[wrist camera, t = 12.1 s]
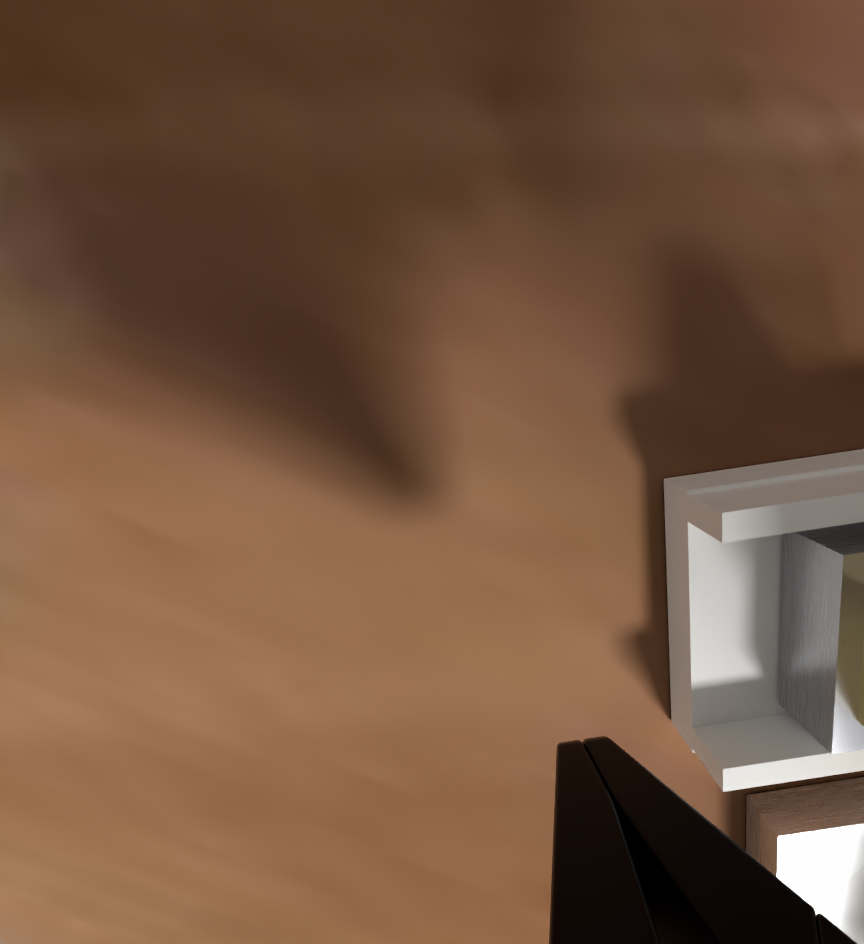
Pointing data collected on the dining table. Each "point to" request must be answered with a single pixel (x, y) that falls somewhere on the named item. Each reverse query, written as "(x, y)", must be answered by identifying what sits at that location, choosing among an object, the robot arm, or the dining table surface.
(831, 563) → the lever
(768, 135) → the dining table surface
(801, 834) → the plate
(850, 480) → the rail
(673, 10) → the dining table surface
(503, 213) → the dining table surface
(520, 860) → the dining table surface
